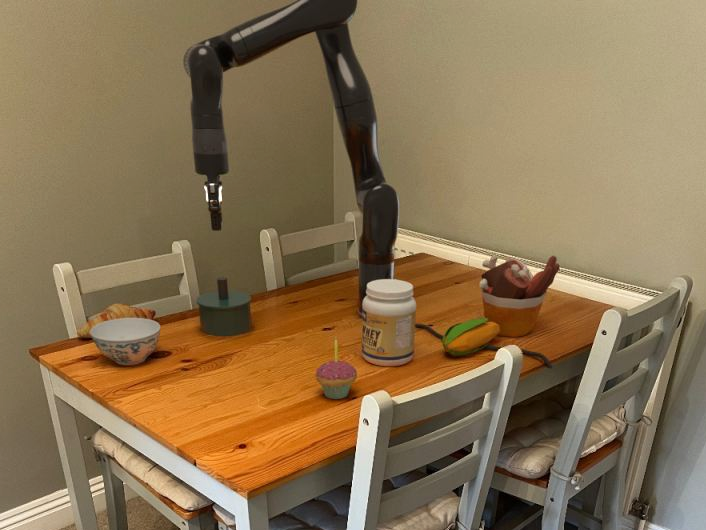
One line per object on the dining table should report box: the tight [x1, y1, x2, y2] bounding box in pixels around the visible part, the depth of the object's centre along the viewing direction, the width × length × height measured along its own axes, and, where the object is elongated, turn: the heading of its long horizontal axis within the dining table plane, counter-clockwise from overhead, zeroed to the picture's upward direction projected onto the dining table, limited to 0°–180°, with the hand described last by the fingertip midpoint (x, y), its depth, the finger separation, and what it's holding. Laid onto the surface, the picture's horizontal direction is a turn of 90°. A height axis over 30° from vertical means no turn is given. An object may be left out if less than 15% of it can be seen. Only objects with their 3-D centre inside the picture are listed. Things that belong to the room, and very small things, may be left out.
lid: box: [195, 276, 252, 309], centre depth 183 cm, size 13×13×6 cm
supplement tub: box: [361, 279, 417, 367], centre depth 169 cm, size 12×12×17 cm
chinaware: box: [90, 318, 161, 366], centre depth 167 cm, size 15×15×8 cm
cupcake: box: [315, 335, 358, 400], centre depth 152 cm, size 9×8×12 cm
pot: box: [198, 302, 253, 338], centre depth 186 cm, size 12×12×8 cm
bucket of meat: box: [478, 254, 560, 338], centre depth 185 cm, size 20×16×20 cm
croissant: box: [76, 302, 157, 339], centre depth 185 cm, size 21×10×8 cm, turn 136°
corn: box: [441, 317, 500, 357], centre depth 177 cm, size 7×8×20 cm
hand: (217, 226), depth 174 cm, fingers open, 8 cm apart
